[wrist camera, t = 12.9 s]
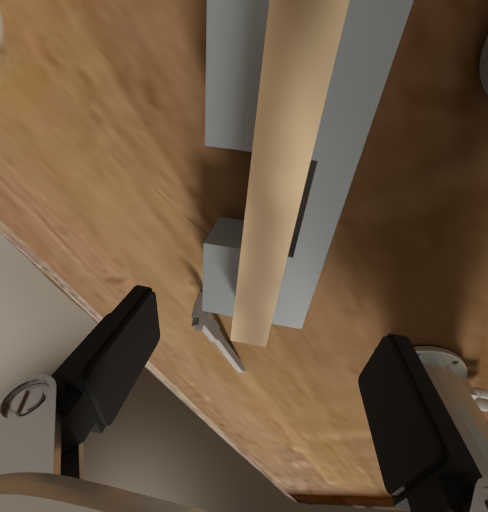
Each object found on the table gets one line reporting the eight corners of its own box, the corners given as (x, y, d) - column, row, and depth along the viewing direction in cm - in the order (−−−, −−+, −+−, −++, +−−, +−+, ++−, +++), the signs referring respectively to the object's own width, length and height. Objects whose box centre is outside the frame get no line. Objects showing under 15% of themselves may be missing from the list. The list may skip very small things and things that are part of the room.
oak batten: (331, 29, 15) (350, -2, 10) (268, 310, 28) (265, 347, 23) (274, 23, 15) (270, -10, 11) (238, 305, 28) (230, 340, 24)
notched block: (377, 25, 19) (417, -12, 13) (298, 291, 34) (301, 329, 28) (230, 10, 20) (207, -30, 14) (216, 276, 35) (202, 310, 29)
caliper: (200, 288, 37) (186, 319, 32) (206, 287, 37) (193, 318, 32) (241, 369, 47) (235, 403, 41) (246, 369, 46) (241, 403, 41)
